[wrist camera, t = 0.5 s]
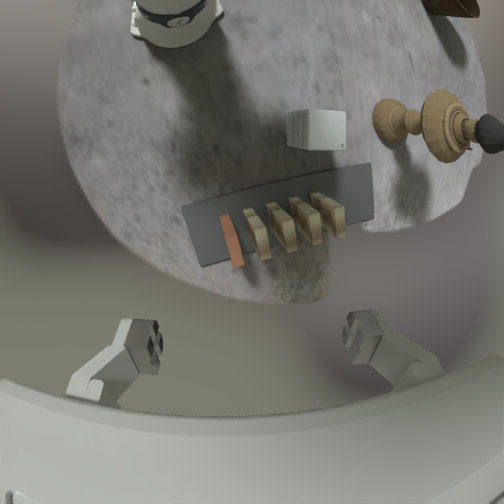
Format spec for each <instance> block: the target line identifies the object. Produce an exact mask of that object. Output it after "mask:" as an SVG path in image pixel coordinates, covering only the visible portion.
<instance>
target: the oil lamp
mask: <svg viewBox="0 0 504 504" xmlns="http://www.w3.org/2000/svg"><path fill="white" fill-rule="evenodd" d="M372 119H373V125H374V128H375V131H376V132H377V134H378V135H379V136H380V137H381V138H382V139H384V140H386V141H389V142H397V141H401V140H403V139H404V138H406V136H407V135H408V133H411V134H412V135H419V134H420V133H422V135H423V138H424V141H425V143H426V145H427V147H428V149H429V151H430V152H431V153H432V154H433V155H434V156H435V157H436V158H437V159H438V160H439V161H441V162H444V163H450V162H454V161H456V160H457V159H458V158H459V157H460V156H462V155H463V154H464V153H465V151H466V150H467V149H468V150H473V149H471V148H470V143H471V141H472V142H475V143H479V144H480V145H481V147H482V148H483V149H484V151H485V152H486V153H490V154H495V153H498V152H500V151H503V150H504V124H502V123H501V122H500V121H499V120H498V119H497V118H495V117H494V116H492V115H489V114H485V115H483V116H482V117H481V118H480V120H476V119H470V117H469V114H468V112H467V111H466V109H465V108H464V106H463V105H462V103H461V102H460V101H459V100H458V98H457V97H456V96H455V95H453V94H452V93H450V92H449V91H447V90H445V89H436V90H435V91H433V92H431V93H430V94H429V95H428V97H427V98H426V100H425V102H424V103H423V106H422V110H421V113H420V112H419V111H418V110H415V109H410V110H409V111H407V109H406V108H405V106H404V105H403V104H401V103H400V102H398V101H396V100H393V99H383V100H381V101H379V102H378V103H377V104H376V106H375V107H374V110H373V114H372ZM468 147H469V148H468Z"/></svg>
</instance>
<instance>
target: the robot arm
mask: <svg viewBox="0 0 504 504" xmlns="http://www.w3.org/2000/svg"><path fill="white" fill-rule="evenodd" d="M131 2H133V7H132V20H131V34H132V35H133V36H136V37H142V38H145V39H147V40H148V41H149V42H151V43H153V44H154V45H157V46H160V47H166V48H176V47H182V46H185V45H188V44H191V43H193V42H195V41H196V40H198V39H199V38H201V37H202V36H203V35H204V34H205V33H206V32H207V31H208V29H209V27H210V26H211V24H212V22H213V21H214V20H215V19H216V18H218V17H219V16H220V15H221V14H222V13H223V8H222V6H221V4H220V2H219V1H218V0H131ZM216 6H217V7H216ZM135 26H137V27H135ZM347 321H348V323H347V324H346V325H345V326H344V328H343V335H342V336H343V342H344V345H345V346H346V347H347V348H348V349H350V350H349V352H348V355H349V357H350V360H351V363H352V365H355V364H361V363H368V362H369V364H371V365H372V366H373V367H374V368H375V369H376V370H377V371H379V372H380V373H381V374H382V375H383V376H384V377H385V378H386V379H387V380H389V381H390V382H391V383H392V384H393V385H394V386H395V388H394V389H393V390H392V392H391V393H389V394H385V395H381V396H377V397H374V398H369V399H365V400H361V401H356V402H351V403H346V404H342V405H336V406H331V407H325V408H318V409H313V410H305V411H297V412H288V413H279V414H266V415H249V416H185V415H170V414H159V413H149V412H140V411H132V410H125V409H122V408H121V406H120V405H119V404H118V402H117V400H118V399H119V398H120V397H121V395H123V393H124V392H125V391H126V390H127V389H128V388H129V386H131V384H132V383H133V382H134V381H135V380H136V379H137V378H138V376H139V375H140V374H150V375H158V372H159V367H160V360H159V357H160V356H161V355H162V352H163V339H162V335H161V333H160V332H158V328H159V325H158V322H157V321H156V320H146V319H128V318H124V319H122V321H121V323H120V326H119V328H118V331H117V333H116V336H115V339H114V341H113V344H112V346H108V347H106V348H105V349H104V350H103V351H102V352H100V353H99V354H98V355H96V356H95V357H94V358H93V359H91V360H90V361H89V362H88V363H86V364H85V365H84V366H83V367H82V368H80V369H79V370H78V371H77V372H75V373H74V374H73V375H72V378H71V381H70V383H69V386H68V389H67V392H66V394H65V397H62V396H59V395H56V394H52V393H49V392H46V391H42V390H39V389H36V388H33V387H30V386H27V385H24V384H22V383H19V382H16V381H14V380H11V379H8V378H4V379H2V380H0V504H504V357H502V356H500V355H498V354H491V355H489V356H487V357H485V358H483V359H481V360H479V361H476V362H474V363H472V364H470V365H468V366H465V367H463V368H461V369H458V370H456V371H453V372H451V373H449V374H445V372H444V370H443V369H442V367H441V365H440V363H439V362H438V360H437V358H436V357H435V355H433V354H432V353H430V352H428V351H427V350H425V349H424V348H422V347H420V346H419V345H417V344H416V343H414V342H412V341H411V340H409V339H407V338H406V337H404V336H403V335H401V334H399V333H395V332H394V330H393V329H392V327H391V325H390V323H389V322H388V320H387V318H386V317H385V315H384V314H383V312H382V310H381V309H373V310H364V311H357V312H350V313H349V314H348V316H347Z"/></svg>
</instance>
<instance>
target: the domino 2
mask: <svg viewBox="0 0 504 504" xmlns="http://www.w3.org/2000/svg"><path fill="white" fill-rule="evenodd" d="M243 214H244V218H245V222H246V226H247V231H248V235H249V237H250V239H251V241H252V243H253V245H254V247H255V249H256V251H257V253H258V255H259V257H260V259H261V260H265V259H268V258H272V256H271V251H270V246H269V241H268V236H267V231H266V227H265V225H264V224H263V222H262V221H261V220H260V218H259V217H258V215H257V214H256V213H255V211H254V210H253V208H248V209H244V210H243Z"/></svg>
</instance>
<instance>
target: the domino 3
mask: <svg viewBox="0 0 504 504" xmlns="http://www.w3.org/2000/svg"><path fill="white" fill-rule="evenodd" d="M266 208H267V213H268V218H269V223H270V228H271V231H272V232H273V233H274V235H275V236H276V237H277V239H278V240H279V242H280V243H281V244H282V246H283V247H284V248H285V250H286V251H287V253H289V252H293V251H296V250H298V246H297V239H296V233H295V226H294V220H293V219H292V218H291V217H290V216H289V215H288V214H287V213H286V212H285V211H284V210H283V209H282V208H281V207H280V206H279V205H278V204H277V203H276V202H271V203H267V204H266Z"/></svg>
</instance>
